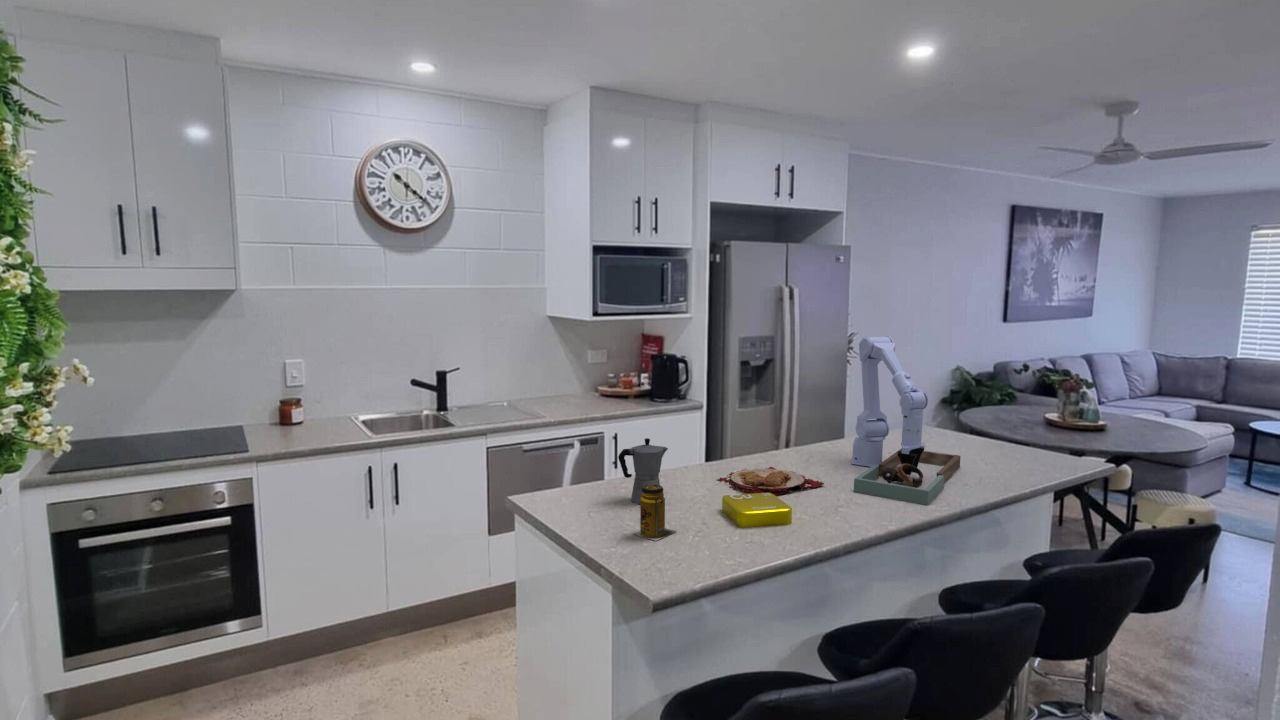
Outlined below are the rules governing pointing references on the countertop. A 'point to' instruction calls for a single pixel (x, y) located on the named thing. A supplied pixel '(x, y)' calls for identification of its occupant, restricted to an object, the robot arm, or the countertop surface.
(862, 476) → the frame
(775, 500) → the element tile
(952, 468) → the brown wooden frame
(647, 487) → the condiment
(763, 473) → the plate with food
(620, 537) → the countertop surface
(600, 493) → the countertop surface
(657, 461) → the coffeepot
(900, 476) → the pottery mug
